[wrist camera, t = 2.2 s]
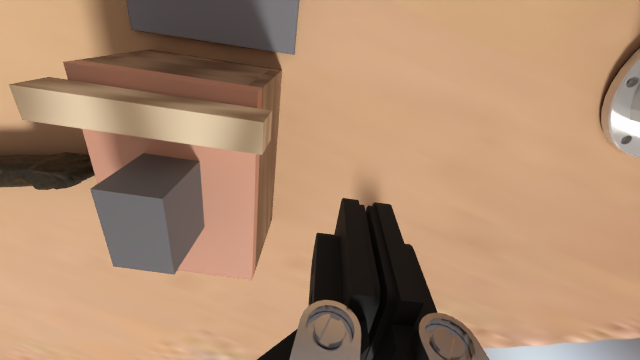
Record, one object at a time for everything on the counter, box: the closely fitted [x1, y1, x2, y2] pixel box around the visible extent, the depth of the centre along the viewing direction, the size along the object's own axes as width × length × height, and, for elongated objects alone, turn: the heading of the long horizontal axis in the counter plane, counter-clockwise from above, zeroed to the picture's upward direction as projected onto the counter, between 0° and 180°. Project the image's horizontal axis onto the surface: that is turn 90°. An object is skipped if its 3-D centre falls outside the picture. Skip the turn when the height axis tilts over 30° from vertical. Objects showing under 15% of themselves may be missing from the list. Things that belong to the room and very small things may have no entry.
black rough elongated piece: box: [0, 153, 95, 190], centre depth 30 cm, size 19×4×5 cm, turn 91°
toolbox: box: [81, 50, 282, 270], centre depth 26 cm, size 12×17×8 cm
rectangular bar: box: [9, 77, 272, 155], centre depth 17 cm, size 14×2×2 cm, turn 82°
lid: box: [63, 60, 262, 280], centre depth 20 cm, size 12×17×7 cm
